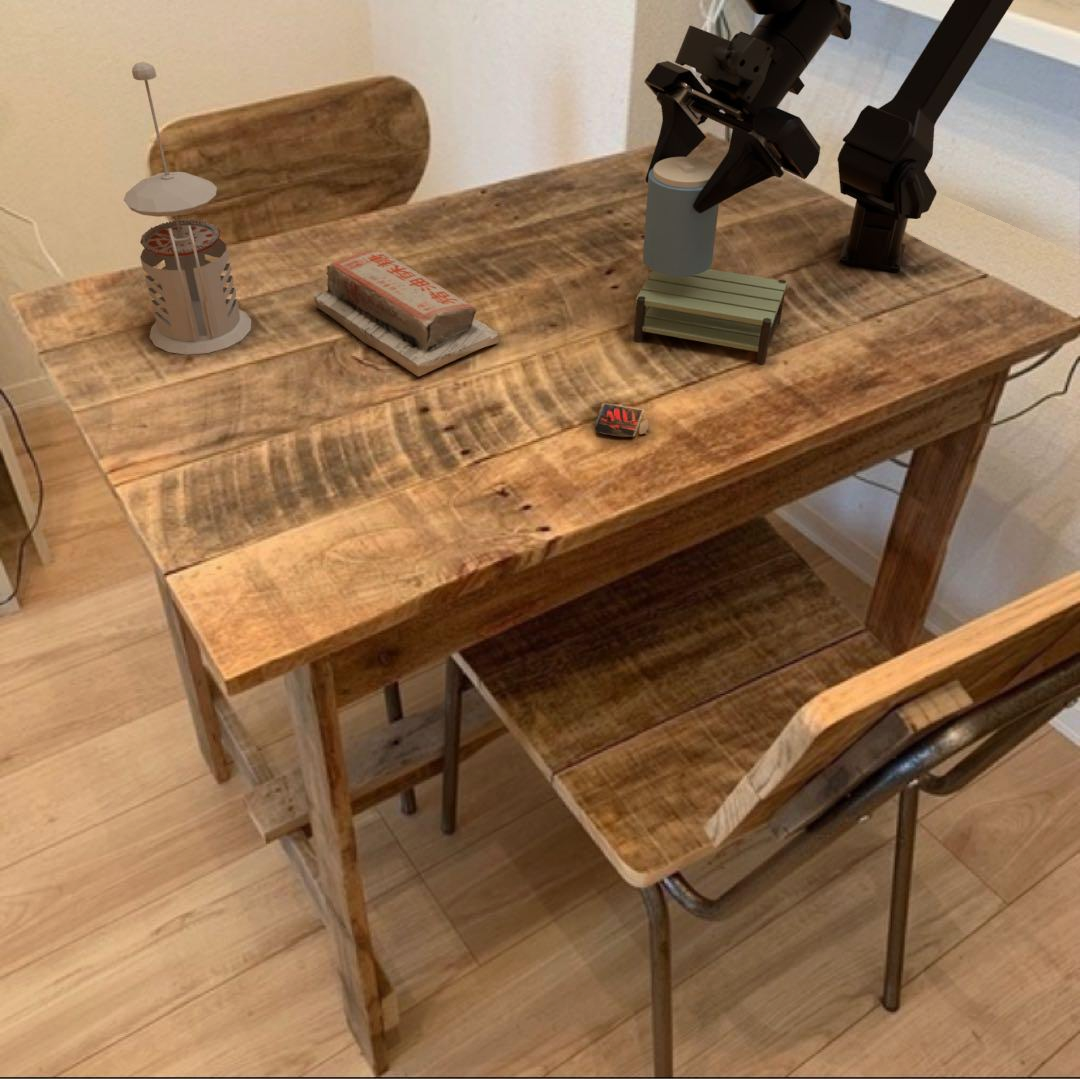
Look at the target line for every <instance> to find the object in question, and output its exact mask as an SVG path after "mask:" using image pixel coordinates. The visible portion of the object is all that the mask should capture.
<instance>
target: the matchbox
mask: <svg viewBox="0 0 1080 1079" xmlns="http://www.w3.org/2000/svg"><path fill="white" fill-rule="evenodd" d="M644 414H645V409H644V408H643V409H642V408H638V407H633V406H626V405H623V404H622V403H619V404H614V403H613V404H612V403H605V402H603V403H601V404H600V409H598V414H597V415H598V416H597V418H596V419H595V421H594V423H595V432H596V433H601V434H603V435H604V434H605V435H609V436H616V437H622V438H623V437H627V438H628V437H635V435H636V434H637V435H643V434H647V433H648V432H649V431H650V428H651V427H650V421H649V419H648V418H646V419H644V420H643V415H644ZM607 438H610V437H608V436H607Z"/></svg>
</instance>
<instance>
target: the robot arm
mask: <svg viewBox="0 0 1080 1079" xmlns="http://www.w3.org/2000/svg"><path fill="white" fill-rule="evenodd" d="M744 1H745V3H746V5H747V6H748V7H749V9H750V10H751V11H752V12H753V13H754V14H757V15H759V16H762V18H760V20H759V22H758V23H757V25H756V26H755V28H754V29H753V30H752V31H751V33H750V34H749V33H746V32H744V31H739V32H738V33H736V34H734V35H733V37H732V38H731V40H729V39H727V38H724V37H721V36H719V35H717V34H714V33H711V32H709V31H707V30H704V29H701V28H699V27H697V26H693V25H689V26H688V28H687V31H686V33H685V35H684V38H683V40H682V43H681V46H680V48H679V50H678V53H677V55H676V58H675V61H674V62H672V61H669V60H665V61H660V62H657V63H656V64H655V65H654V67H653V68H652V70H650V72H649V74H648V75H647V77H646V78H645V79H644V83H645V85H646V86H647V87H648V88H649V89H650V91H651V92H652V93H653V95H655V97H656V101H657V102H658V103H659V105H660V107H661V116H662V121H661V125H660V126H661V127H660V129H659V130H660V131H659V134H658V138H657V142H656V145H655V147H654V151H653V154H652V157H651V160H650V164H649V167H648V168H647V173H646V176H645V182H646V184H648V177H649V172H650V170H651V169H652V168H654V166H655V164H656V163H657V162H659V161H661V160H664V159H667V158H672V157H689V155H690V154H691V153H692V152H693V151H694V150H695V149H696V148H698V146H699V145H700V144H701V143H702V142H703V141H705V139H706V138H707V136H706V135H705V133H704V132H703V131H702V130H701V128H700V127H699V125H701V124H704V123H706V121H707V119H709V120H712V121H714V122H716V123H718V124H721V125H722V126H725V127H727V128H730V129H731V136H730V141H729V147H728V150H727V153H726V154H725V156H724V157H723V158H722V160H721V161H720V162H719V164H718V166H716V167H717V169H716V170H715V172H714V173H713V174H712V176H711V177H710V179H709V180H708V182H707V183H706V185H705V186H704V187H703V189H702V190H701V192H700V194H699V195H698V197H697V199H696V201H695V203H694V204H693V208H694V209H695V210H696V211H697V212H698V213H703V212H704V211H706V210H708V209H710V208H712V207H713V206H715V205H717V204H719V205H720V204H721V203H723V202H724V201H726V200H728V199H730V198H732V197H733V196H735V195H737V194H739V193H741V192H743V191H745V190H747V189H749V188H751V187H753V186H755V185H757V184H759V183H761V182H764V181H766V180H768V179H770V178H772V177H776V178H779V179H780V178H782V177H783V175H784V174H785V172H784V171H786V172H788V173H790V174H792V175H795V176H797V177H798V178H801V179H802V180H806V179H807V178H808V176H809V175H810V174H811V173H812V172H813V171H814V169H815V167H816V166H817V165H818V164H819V161H820V160H819V159H820V155H821V154H820V153H821V146H820V144H819V143H818V142H817V140H816V138H815V137H814V135H813V134H812V132H810V130H809V128H808V127H807V126H806V124H805V123H804V121H803V120H802V118H801V117H800V116H798V115H795V114H793V113H790V112H788V111H785V110H783V109H781V108H779V105H780V104H781V102H782V101H783V100H784V99H785V97H786V96H787V94H789V93H792V94H794V95H797V96H798V95H799V94H800V93H801V91H802V90H803V89H804V88H805V86H806V85H805V84H804V82H803V81H802V79H801V75H802V74H803V73H804V71H805V70H806V69H807V68H808V66H809V65H810V63H811V62H812V60H813V59H814V58H815V56H816V55H817V54H818V52H819V51H820V50H821V48H822V47H823V46H824V44H825V43H826V41H827V40H828V39H829V37H830V36H833V37H836V38H839V39H842V40H844V41H848V40H849V39H850V38H851V35H852V22H851V11H852V6H851V5H850V4H847V3H844V2H840V1H839V0H744ZM1014 1H1015V0H953V2H952V3H951V5H950V6H949V8H948V10H947V11H946V13H945V15H944V16H943V18H942V19H941V21H940V23H939V24H938V26H937V28H935V31H934V32H933V34H932V35H931V37H930V39H929V40H928V42H927V43H926V45H925V46H924V48H923V50H922V51H921V53H920V55H919V56H918V58H917V60H916V61H915V62H914V65H913V66H912V67H911V69H910V71H909V73H908V74H907V76H906V78H905V79H904V80H903V82H902V84H901V85H900V87H899V89H898V90H897V92H896V93H895V95H894V96H893V98H892V99H891V100H889V101H887V102H886V103H884V104H883V105H881V106H880V107H878V108H877V107H875V106H873V105H871V104H868V105H866V106H865V107H864V108H863V109H861V111H860V112H859V114H858V117H857V118H856V121H855V122H854V124H853V126H852V127H851V129H850V131H849V132H848V133H847V134H845V136H844V137H843V138H842V142H844V143H843V144H842V146H841V149H840V151H839V153H838V156H837V167H838V178H839V190H840V191H839V192H840V194H842V195H844V196H848V197H850V198H852V199H854V200H855V205H854V210H853V214H852V219H851V225H850V229H849V232H848V233H849V234H848V235H846V236H845V239H844V241H843V245H842V249H841V251H840V255H839V259H838V262H839V263H841V264H845V265H851V266H857V267H858V266H859V267H864V268H870V269H878V270H883V271H889V272H900V271H901V267H902V261H903V259H904V258H903V257H904V252H905V247H906V244H904V243H903V241H904V237H905V234H906V229H907V225H908V220H919V219H921V218H922V214H924V213H927V212H929V210H930V208H931V207H932V204H933V202H934V200H935V198H936V196H937V193H938V191H937V189H936V188H935V186H934V184H933V182H932V181H931V179H930V178H929V175H928V174H927V172H926V169H927V167H928V165H929V164H930V161H931V160H932V158H933V155H934V139H935V126H936V123H937V121H938V120H939V118H940V117H941V115H942V114H943V112H944V110H945V109H946V107H947V106H948V104H949V103H950V101H951V100H952V98H953V96H954V95H955V93H956V91H957V90H958V88H959V87H960V85H962V82H963V80H964V79H965V77H966V76H967V74H968V73H969V71H970V70H971V68H972V67H973V65H974V64H975V62H976V60H977V59H978V57H979V56H980V54H981V52H982V51H983V49H984V48H985V46H986V45H987V43H988V42H989V40H990V39H991V37H992V35H993V34H994V32H995V30H996V29H997V27H998V26H999V24H1000V23H1001V21H1002V19H1003V18H1004V17H1005V15H1006V13H1007V12H1008V10H1009V8H1010V7H1011V5H1012V4H1013V2H1014ZM683 66H688V67H691V68H693V69H695V72H696V73H698V74H700V76H699V78H700V80H701V81H702V82H703V84H704V85H705V86H707V87H709V88H710V92H708V91H707V89H706V88H705V87H704V86H703V85H702V83H701V82H700V81H699V79H698V78H697V77H696V76H695V74H694V73H693V72H692V71H691V70H690V69H688V68H685V67H683ZM722 111H723V112H722ZM783 170H784V171H783Z"/></svg>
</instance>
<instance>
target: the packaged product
mask: <svg viewBox="0 0 1080 1079" xmlns="http://www.w3.org/2000/svg"><path fill="white" fill-rule="evenodd" d="M325 274H326V275H327V281H326V286H327V290H325V291H322V292H320V291H318V292H317V293H316V294H315V295H314V304H315V307H316V308H317V309H318V310H320V311H322V312H323V313H325V314H326V315H328V316H329V317H331V318H332V319H334V320H335V321H336V322H337V323H338V324H340V325H341V326H342V327H344V328H345V329H346V330H348V331H349V332H350V333H351V334H353V335H354V336H355V337H356V338H357V339H359V340H360V341H361V342H362V343H364V344H366V345H368V346H369V347H372V348H373V349H375V350H377V351H378V352H380V353H381V354H383V355H385V356H386V357H388V358H389V359H391V360H392V361H394V362H395V363H396V364H399V366H401V367H403V368H404V369H406V370H407V371H409V372H410V373H412V374H414V375H415V376H417V377H418V378H419V377H422V376H423V375H426V374H428V373H430V372H432V371H435V370H436V369H438V368H441V367H443V366H445V365H447V364H449V363H451V362H454V361H456V360H459V359H461V358H463V357H465V356H467V355H469V354H472V353H474V352H477V351H479V350H481V349H483V348H486V347H490V346H492V345H493V346H494V345H495V344H498V343H499V341H500V332H499V331H497V330H494V329H492V328H490V327H489V326H488V324H485V323H484V322H482V321H480V320H478V319H475V315H476V313H477V309H476V308H475V307H474V306H473V305H471V304H470V303H469V302H467V301H466V300H464V299H462V298H460V297H459V296H457V295H455V294H454V293H452V292H451V291H449V290H448V289H446V288H444V287H442V286H441V285H439V284H438V283H436V282H434V281H432V280H430V279H429V278H428V277H426V276H424V275H423V274H420V273H419V272H418V271H416V270H414V269H413V268H411V267H409V266H408V265H406V264H404V263H403V262H401V261H400V260H398V259H397V258H395V257H393V256H391V255H390V254H388V253H387V252H385V251H382V250H377V249H365V250H364V251H362V252H357V253H356V254H352V255H351V256H346V257H343V258H342V259H339V260H337V261H333V262H331V263H329V265H328V264H327V266H326V273H325Z"/></svg>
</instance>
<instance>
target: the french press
mask: <svg viewBox="0 0 1080 1079" xmlns="http://www.w3.org/2000/svg"><path fill="white" fill-rule="evenodd" d="M131 73H132V78H133V80H135V81H144V84H145V88H146V93H147V94H146V95H147V98H148V102H149V107H150V111H151V116H152V120H153V124H154V129H155V133H156V137H157V138H156V139H157V143H158V147H159V152H160V155H161V161H162V164H163V169H164V172H159V173H157V174H153V175H152V176H151V175H150V176H148V177H146V178H143V179H141V180H140V181H138V183H136V184H135V185H133V187H131V188H130V189H129V190H127V192H125V195H124V198H123V201H124V203H125V205H126V206H127V207H128V209H130V211H132V212H134V213H137V214H139V215H142V216H150V217H156V218H157V217H158V218H159V217H162V218H163V217H175V220H173V221H170V220H169V221H166V222H162V223H160V224H157V225H155V226H153V227H152V226H151V227H150V228H149V229H148V230H147V231H145V232H144V233H143V234H141V238H140V242H139V243H140V245H141V246H142V247H143V249H142V251H141V254H140V256H139V258H140V263H141V266H142V270H143V271H144V272H145V273H146V274H147V275H144V278H145V282H146V284H147V285H148V286H149V287H148V288H147V290H148V293H149V294H148V295H149V296H150V297H151V300H150V302H151V306H152V308H153V310H155V311H153V315H154V318H155V323H154V324H153V325H152V326H151V328H150V333H149V339H150V340H151V342H152V343H153V345H154V346H155V347H157V348H159V349H161V350H163V351H166V352H167V353H174V354H179V355H188V356H189V355H201V354H209V353H210V354H211V353H213V352H218V351H220V350H223V349H224V350H225V349H227V348H230V347H232V346H233V345H235V344H237V343H239V342H240V341H242V340H244V339H245V337H246V336H247V335H248V334H249V333H250V332H251V330H252V319H251V318H250V317H249V315H248V314H247V313H246V311H244V310H242V309H240V307H239V301H238V299H237V298H236V297H237V291H236V287H235V286H234V283H235V282H234V276H233V275H231V273H232V266H231V263H230V262H229V258H230V255H229V250H228V245H227V243H226V242H225V241H223V239H221V238H220V235H221V230H220V229H219V228H218V227H217V226H216V225H215V224H213V223H210V222H208V221H205V220H199V219H197V220H196V219H189V218H188V219H187V220H186V219H183V220H182V219H180V220H179V216H181V215H187V214H190V213H193V212H196V211H198V210H200V209H202V208H205V207H206V206H207V205H208V204H210V203H211V202H212V201H213V200H214V199H215V197H216V196H217V190H218V187H217V186H216V185H215V184H214V183H213V182H212V181H210V180H208V179H205V178H203V177H200V176H198V175H195V174H191V173H188V172H186V171H185V172H184V171H169V170H168V166H167V163H166V158H165V153H164V149H163V144H162V140H161V135H160V130H159V126H158V121H157V117H156V113H155V108H154V104H153V99H152V95H151V90H150V85H149V81H150V80H153V79H155V78H157V72H156V69H155V67H154V65H152V64H151V63H149V62H146V61H141V62H136V63H135V64H134V65H133V66H132V68H131ZM168 171H169V172H168ZM205 255H207V256H210V257H213V258H217V259H214V261H211V260H208V259H206V256H205ZM163 261H164V266H163V267H162V268H157V267H156V266H157V265H159V264H160V263H162V262H163ZM224 271H225V273H224V274H225V275H222V273H223V272H224ZM155 281H156V282H157V283H158V284H157V285H156V284H154V282H155ZM227 283H229V284H228V286H227V287H225V286H226V284H227ZM233 286H234V287H233ZM156 294H159V296H160V297H158V296H157V295H156ZM229 295H231V296H230V298H228V297H229ZM159 306H161V307H162V309H161V308H160V307H159Z"/></svg>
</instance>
